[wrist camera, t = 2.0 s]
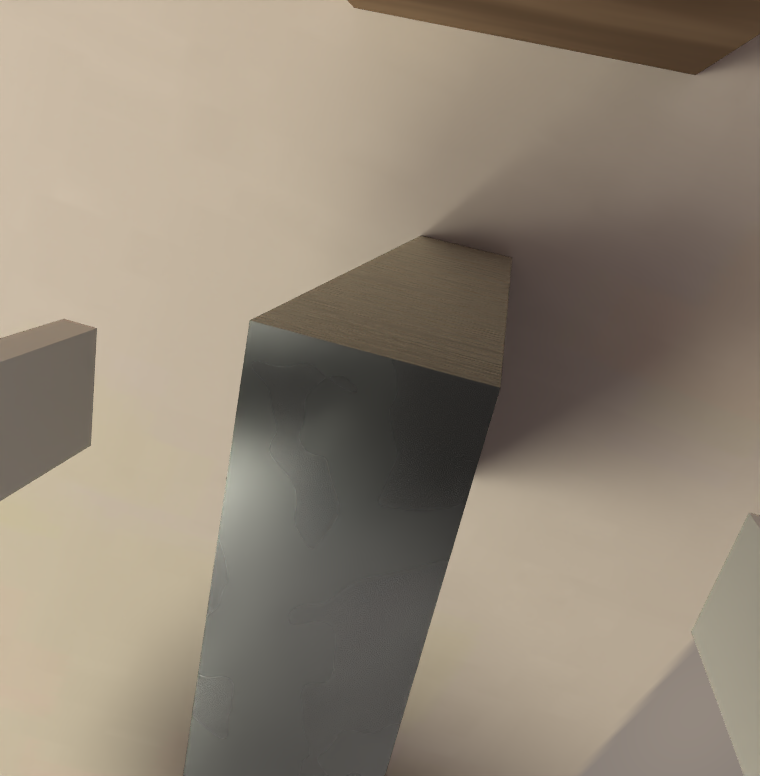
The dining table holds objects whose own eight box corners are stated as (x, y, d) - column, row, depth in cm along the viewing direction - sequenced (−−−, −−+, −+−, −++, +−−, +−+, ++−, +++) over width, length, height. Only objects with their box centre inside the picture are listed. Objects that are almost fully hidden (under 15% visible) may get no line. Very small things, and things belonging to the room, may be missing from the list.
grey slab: (450, 476, 23) (358, 864, 10) (370, 453, 23) (180, 797, 10) (512, 257, 20) (500, 388, 7) (421, 235, 20) (249, 319, 7)
